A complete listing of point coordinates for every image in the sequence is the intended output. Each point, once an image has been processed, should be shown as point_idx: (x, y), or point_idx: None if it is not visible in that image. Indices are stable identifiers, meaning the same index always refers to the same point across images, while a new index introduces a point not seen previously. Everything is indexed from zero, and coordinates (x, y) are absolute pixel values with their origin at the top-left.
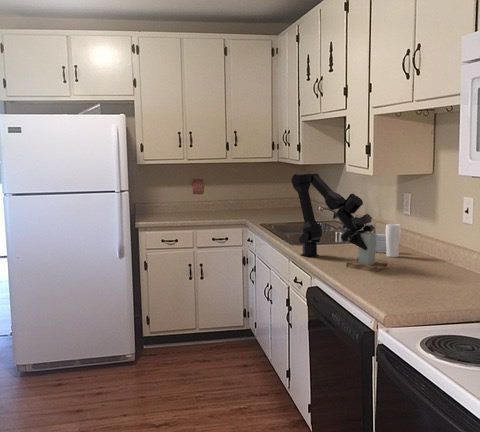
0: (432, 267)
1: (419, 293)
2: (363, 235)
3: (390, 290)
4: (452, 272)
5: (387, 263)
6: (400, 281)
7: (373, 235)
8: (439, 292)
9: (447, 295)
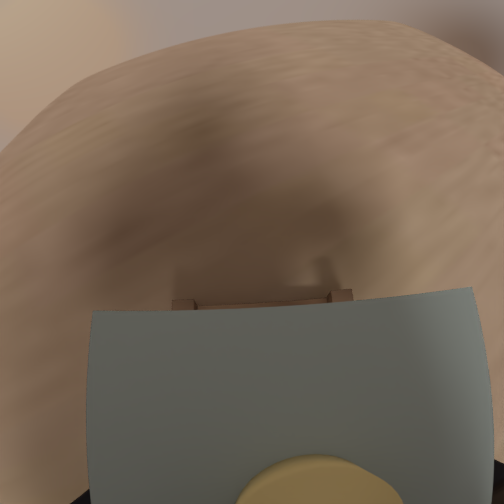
0: (50, 170)
1: (425, 74)
2: (465, 487)
3: (478, 124)
4: (105, 100)
5: (172, 300)
6: (385, 133)
7: (254, 321)
8: (374, 51)
9: (377, 42)
